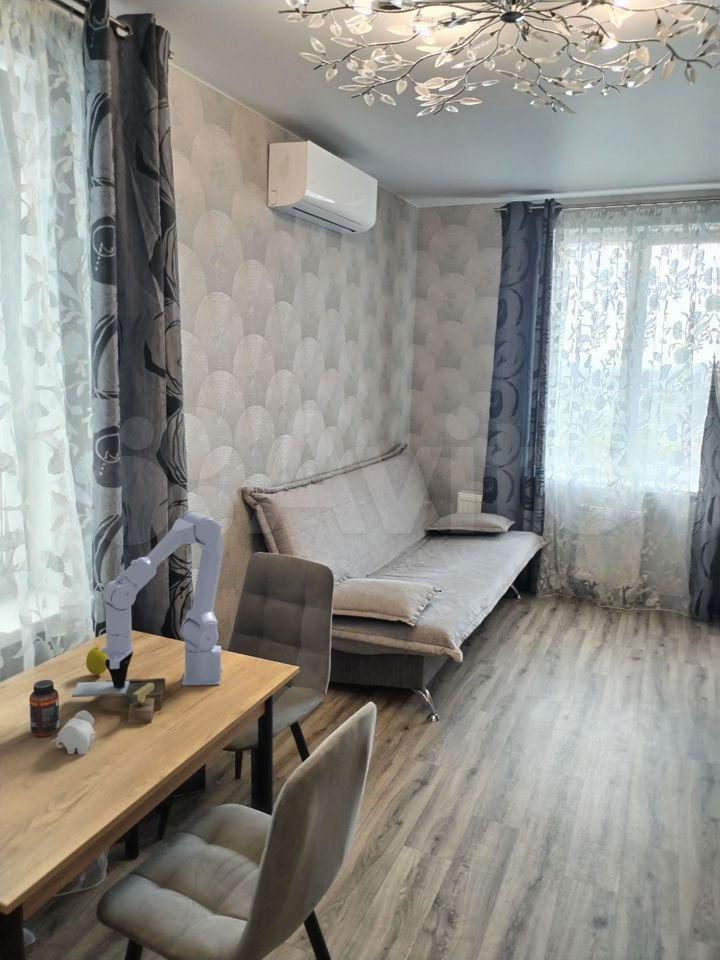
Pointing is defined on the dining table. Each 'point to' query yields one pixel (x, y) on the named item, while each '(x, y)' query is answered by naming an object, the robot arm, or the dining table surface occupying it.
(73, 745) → the elephant figurine
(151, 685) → the lever
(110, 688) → the lid
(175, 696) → the dining table surface
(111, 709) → the case
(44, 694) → the supplement bottle
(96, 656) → the lemon
